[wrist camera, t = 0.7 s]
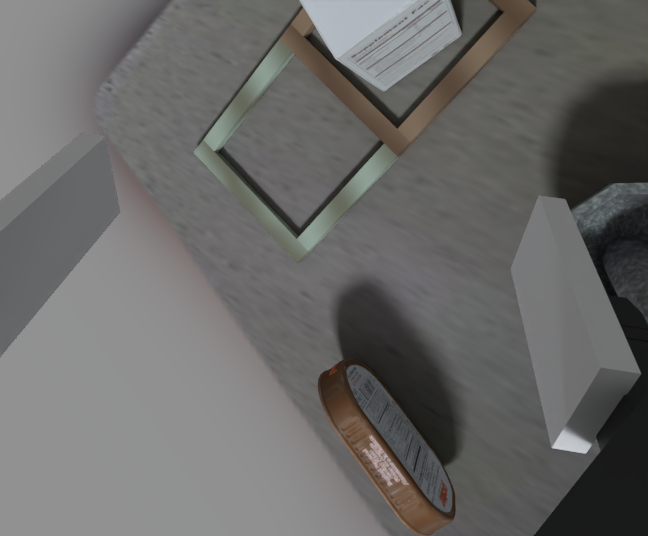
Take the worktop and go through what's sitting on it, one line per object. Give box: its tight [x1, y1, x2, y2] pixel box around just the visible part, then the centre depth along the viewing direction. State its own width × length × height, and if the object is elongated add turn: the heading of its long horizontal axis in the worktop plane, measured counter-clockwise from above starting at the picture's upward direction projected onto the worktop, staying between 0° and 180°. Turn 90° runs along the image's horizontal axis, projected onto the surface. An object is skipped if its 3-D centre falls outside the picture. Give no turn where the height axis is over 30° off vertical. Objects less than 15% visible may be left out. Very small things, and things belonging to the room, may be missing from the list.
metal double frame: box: [194, 0, 536, 263], centre depth 43 cm, size 26×14×1 cm, turn 137°
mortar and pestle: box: [570, 183, 648, 324], centre depth 33 cm, size 11×9×12 cm
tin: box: [318, 358, 455, 536], centre depth 42 cm, size 15×3×8 cm, turn 40°
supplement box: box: [299, 0, 462, 91], centre depth 35 cm, size 7×7×13 cm
